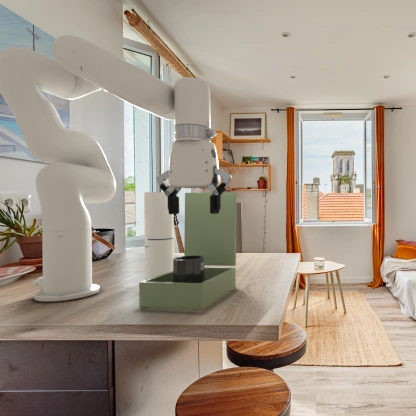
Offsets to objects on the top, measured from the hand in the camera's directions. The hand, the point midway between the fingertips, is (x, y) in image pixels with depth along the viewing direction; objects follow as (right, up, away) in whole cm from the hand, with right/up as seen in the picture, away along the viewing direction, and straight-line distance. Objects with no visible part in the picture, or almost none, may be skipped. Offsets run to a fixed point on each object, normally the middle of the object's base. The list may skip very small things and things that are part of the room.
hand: (194, 213), depth 72 cm
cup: (-1, -19, 0) cm, 19 cm away
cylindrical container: (-15, -20, +16) cm, 29 cm away
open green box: (-1, -20, +2) cm, 20 cm away
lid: (0, -4, +10) cm, 11 cm away
